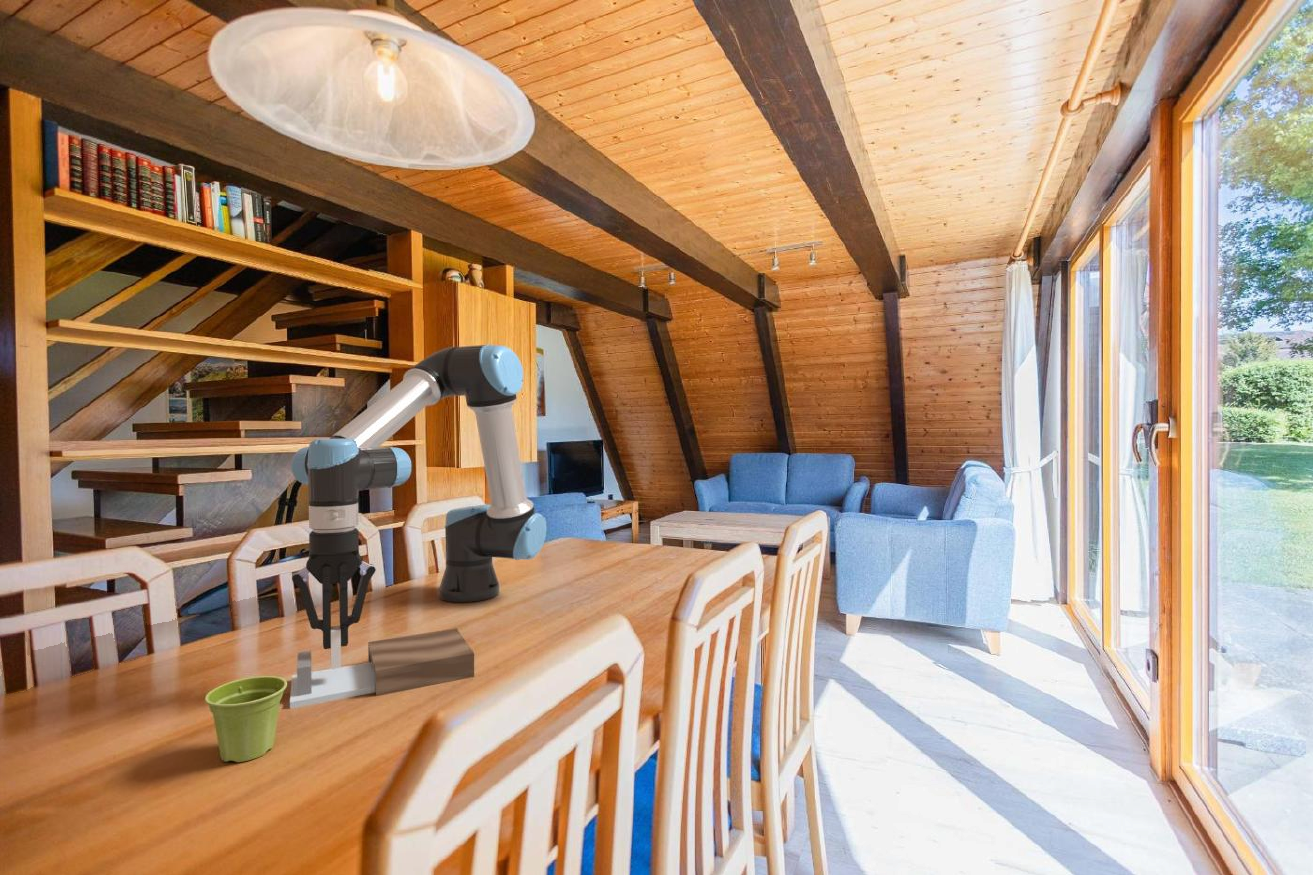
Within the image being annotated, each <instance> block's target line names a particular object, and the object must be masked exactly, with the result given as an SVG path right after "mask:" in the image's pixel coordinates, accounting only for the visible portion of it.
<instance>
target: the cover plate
mask: <svg viewBox="0 0 1313 875" xmlns="http://www.w3.org/2000/svg"><path fill="white" fill-rule="evenodd" d="M296 660H297V663H296V674H292V675H291V684H290V693H289V694H290V695H289V696H290V697H289V709H296V708H300V707H305V706H310V705H311V706H312V705H318V704H321V703H327V702H332V701H337V700H342V699H347V698H353V697H357V696H363V695H369V694H373V693H375V672H374V668H373V664H372V662H369V661H368V662H363V663H357V664H350V665H346V666H345V665H343V666H341V668H337V669H331V668H328V669H321V670H315V671H312V650H306V651H299V652H297V659H296Z"/></svg>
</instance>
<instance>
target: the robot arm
mask: <svg viewBox="0 0 1313 875" xmlns="http://www.w3.org/2000/svg"><path fill="white" fill-rule="evenodd" d="M523 381H524V370H523V366H522V362H521V361H520V358H519V357H518V355H517V354H516V352H514V351H513V350H512V349H511V348H510V347H508V346H505V345H498V344H497V345H496V344H481V345H467V346H465V345H464V346H450V347H446V348H443V349H441V350H438V351H436V352H433V353H432V354H431V355H429V356H426V357H425V358H423V359H422V360H420V361H418V363H415V364H414V366H412V367H410V369H408V370H407V371H406V372H405V373H404V374H403V378H402V381H401V382H399V383H398V384H396V386H394V387H392V389H390V390H389V391H388V392H387V393H385V394H384V395H383V396H381V397H380V398H379V399H378V400H377V401H375V402H374V403H372V404H371V405H369V406H368V407H367V408H366V409H365V410H364V411H362V412H361V413H360V414H358V415H357V416H356V417H355V418H353V419H352V420H351V421H349V422H348V423H347V424H345V425H344V426H343V427H342V428H340V429H339V430H338V431H337V432H336V433H334V434H333V435H331V436H330V437H329V438H316V439H313V440H312V441H310V443H309V446H305V447H302V448H300V449H298V450H297V451H296V452H295V453H294V454H293V456H292V459H291V464H290V468H291V473H292V475H293V477H294V479H296V481H298V482H299V483H301V484H304V485H308V527H309V529H310V530H312V531H310V532H309V533H308V539H309V540H308V542H309V543H308V546H309V547H308V548H309V552H308V553H309V554H308V555H309V557H308V560H307V561H306V564H305V566H304V567H303V568H301V569H300V570H298V571H295V572H293V573H292V575H291V581H292V582H293V583H294V585H296V586H297V588H298V589H299V593H300V596H301V599H302V603H303V605H304V608H305V612H306V616H307V619H308V622H309V625H310V628H311V629H312V630H321V632H322V647H323V650H330V669H337V668H341V667H342V647H347V646H348V644H349V628H350V626H351V625H353V624H358V623H359V622H360V620H361V616H362V612H363V609H364V608H363V607H364V604H365V600H366V596H367V592H368V589H369V588H368V587H369V584H370V581H371V579H372V578H373V575H374V574H375V572H376V569H377V568H376V567H375V565H374V564H372V563H370V564H369V563H367V562H365V561H363V558H362V556H361V554H360V546H359V545H360V540H359V538H360V537H359V536H360V535H359V533H360V530H359V529H358V528H356V527H357V526H358V525H359V524H360V523H359V522H360V521H359V492H361V491H366V490H367V491H368V490H376V489H384V488H388V489H391V488H393V487H397V486H401V485H403V484H405V483H406V482H407V481H408V480H409V478H410V476H411V474H412V460H411V458H410V456H409V454H408V453H407V452H406V451H405V450H404V449H402V448H399V447H394V446H393V447H391V446H384V447H381V446H382V445H383V444H384V443H386V441H387V440H389V439H390V438H391V437H392V436H393V435H395V434H396V433H397V432H398V431H399V430H400V429H401V428H403V427H404V426H405V425H407V423H408V422H409V421H411V420H412V419H413V418H414V417H415V416H416V415H418V414H419V413H420V412H421V411H422V410H423V409H425V408H426V407H427V406H433V405H435V404H437V403H438V402H440V400H442V399H446V398H448V397H449V398H450V397H453V396H461V397H462V396H464V397H465V401H466V402H465V403H466V406H467V408H469V409H470V410H472V411H473V412H474V413H475V420H476V424H477V429H478V437H479V442H480V447H481V449H480V450H481V454H482V458H483V465H484V471H485V476H486V481H487V488H488V493H489V499H490V503H491V504H479V505H472V506H465V507H464V506H463V507H459V508H453V509H450V510H449V511H448V512H447V513H446V515H445V516H446V517H445V525H444V529H445V530H444V532H445V561H446V562H445V564H446V565H445V569H444V571H443V575H442V579H441V581H440V585H439V587H438V590H439V591H438V598H439V599H440V600H443V601H446V602H450V603H451V602H452V603H474V602H480V601H485V600H489V599H491V598H494V597H496V596H498V595H500V581H499V579H498V576H497V573H496V570H495V568H494V564H493V558H497V559H498V558H499V559H510V560H515V561H521V560H524V561H525V560H526V561H527V560H529V561H530V560H532V559H533V558H535V557H537V555H538V554H539V553H540V552H541V551H542V548H543V546H544V543H545V541H546V538H547V537H546V535H547V521H546V518H545V516H543V515H542V514H540V513H539V512H535V506H534V502H533V501H532V500H530V499H528V498H527V495H526V489H525V483H524V476H523V471H522V470H523V469H522V464H521V458H520V451H519V444H518V440H517V434H516V428H515V421H514V419H515V418H514V414H513V407H512V406H513V405H514V403H516V401H517V394H519V393H520V391H521V390H522V389H523V388H522V387H523ZM359 568H360V569H359ZM358 569H359V574H360V580H359V583H358V586H357V591H356V595H355V599H354V602H353V607H352V611H351V614H350V615H349V604H348V603H349V598H348V596H349V595H348V594H349V593H348V588H349V586H348V585H349V583H348V582H349V581H350V580H351V579H352V578H353V576H354V574H355V573H356V572H357V571H358ZM309 574H310V575H311V576H313V578H315V580H316V581H317V582H318V583H319V584H321V589H322V594H321V595H322V604H321V605H322V619H320V618H319V617H318V614H317V611H316V607H315V604H314V600H313V597H312V594H311V590H310V588H309V587H310V586H309V584H308V581H309V579H310V576H309ZM333 584H338V597H339V598H338V600H339V603H338V604H339V608H338V610H339V612H338V613H339V624H338V625H333V626H332V596H331V595H332V587H331V586H332V585H333Z"/></svg>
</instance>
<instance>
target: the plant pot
mask: <svg viewBox="0 0 1313 875" xmlns="http://www.w3.org/2000/svg"><path fill="white" fill-rule="evenodd" d="M287 687H288V682H287V680H286V679H285V678H283V677H280V676H275V675H273V676H271V675H262V676H260V675H259V676H252V677H246V678H240V679H235V680H233V681H230V682H226V683H224V684H222V685H220V686H217V687H215V688H213V689H211V690H210V691H209V692H208V693H207V694H206V695H205V696H204V702H205V703H206V704H207V705H208V706H209V710H210V712H211V713H212V716H213V720H214V727H215V732H216V738H217V743H218V749H219V754H220V759H221V760H222V761H223V762H227V763H228V762H229V761H233V762H236V763H243V762H247V761H252V760H254V759H257V758H260V757H262V756H264V755H265V754H266V753H267V752H268V751H269V750H272V749H273V747H274V744H275V737H276V730H277V723H278V716H279V709H280V702H281V700H282V698H283V694H284V692H285V690H286V689H287Z"/></svg>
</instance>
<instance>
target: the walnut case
mask: <svg viewBox="0 0 1313 875" xmlns="http://www.w3.org/2000/svg"><path fill="white" fill-rule="evenodd" d="M367 644H368V646H367V648H368V649H367V650H368V656H367V657H368V662H372V664H373V668H374V672H375V692H374V693H375V696H381V695H387V694H392V693H396V692H402V691H407V690H412V689H417V688H423V687H428V686H433V685H438V684H443V683H448V682H453V680H454V681H457V680H463V679H469V678H473V677H475V653H474V651H473V649H472V648H471V647H470V645H469V644H468V642H467V641H466V640H465V638H464V637H463V636H462V633H461V632H460V631H459V630H458V628H450V629H442V630H437V631H430V632H424V633H418V634H411V635H405V636H400V637H398V636H397V637H393V638H387V639H386V638H385V639H380V640H379V639H378V640H373V641H368V642H367Z"/></svg>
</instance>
